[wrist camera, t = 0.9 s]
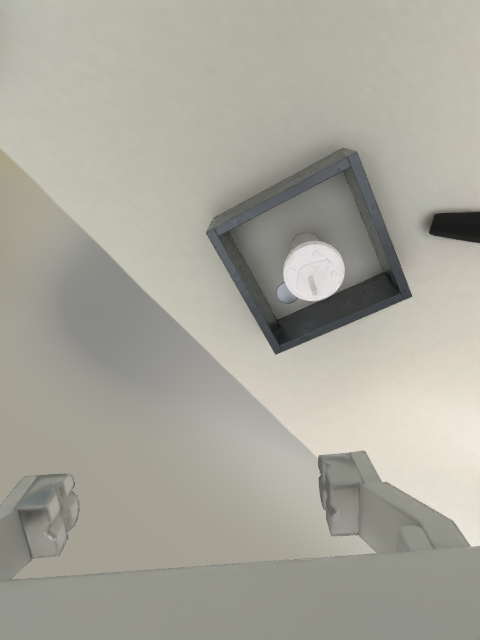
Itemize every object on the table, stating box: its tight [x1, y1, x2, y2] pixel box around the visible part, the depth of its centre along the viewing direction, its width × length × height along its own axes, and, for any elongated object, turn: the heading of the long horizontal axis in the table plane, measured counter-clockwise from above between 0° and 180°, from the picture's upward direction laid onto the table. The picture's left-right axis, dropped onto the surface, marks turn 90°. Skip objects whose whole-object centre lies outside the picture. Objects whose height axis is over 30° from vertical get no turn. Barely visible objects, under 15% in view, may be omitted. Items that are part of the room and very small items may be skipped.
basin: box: [206, 148, 412, 354], centre depth 47 cm, size 17×17×7 cm
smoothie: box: [283, 233, 345, 301], centre depth 44 cm, size 6×6×14 cm
